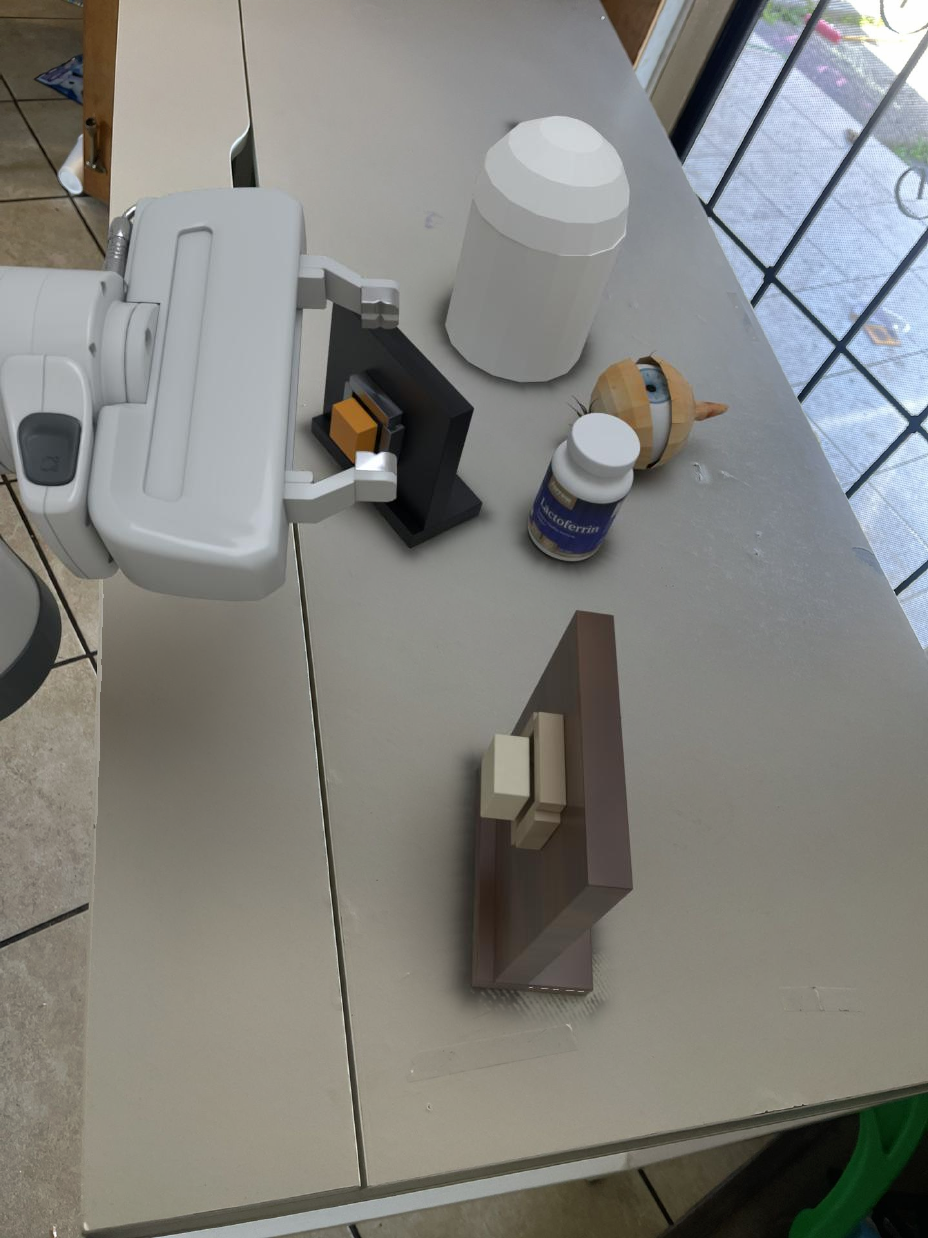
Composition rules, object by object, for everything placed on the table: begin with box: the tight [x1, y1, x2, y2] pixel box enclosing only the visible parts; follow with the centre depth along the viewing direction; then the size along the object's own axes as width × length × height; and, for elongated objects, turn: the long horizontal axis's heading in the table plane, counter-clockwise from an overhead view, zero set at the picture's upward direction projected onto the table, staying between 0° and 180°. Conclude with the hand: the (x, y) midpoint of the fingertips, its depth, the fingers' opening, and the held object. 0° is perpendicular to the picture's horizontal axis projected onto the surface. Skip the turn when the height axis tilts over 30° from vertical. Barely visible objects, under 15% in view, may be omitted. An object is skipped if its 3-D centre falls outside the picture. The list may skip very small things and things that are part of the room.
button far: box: [330, 398, 378, 464], centre depth 67 cm, size 2×3×3 cm, turn 38°
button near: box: [480, 733, 530, 820], centre depth 46 cm, size 2×3×3 cm, turn 178°
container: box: [444, 115, 631, 383], centre depth 80 cm, size 14×13×20 cm
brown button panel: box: [471, 609, 634, 997], centre depth 51 cm, size 7×14×20 cm, turn 178°
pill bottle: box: [527, 413, 640, 562], centre depth 71 cm, size 6×6×11 cm
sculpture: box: [566, 350, 730, 470], centre depth 78 cm, size 9×9×15 cm
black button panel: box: [310, 302, 483, 549], centre depth 70 cm, size 7×14×14 cm, turn 38°
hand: (398, 387), depth 42 cm, fingers open, 8 cm apart
